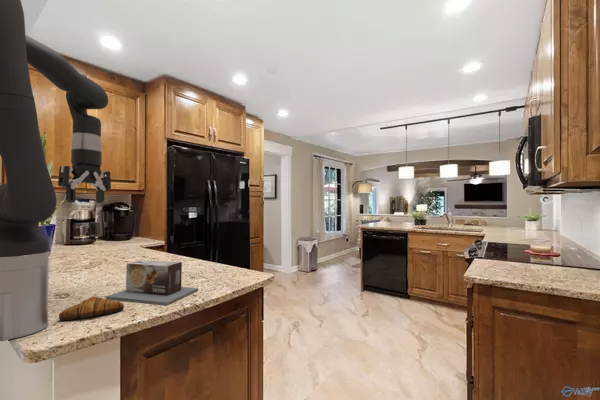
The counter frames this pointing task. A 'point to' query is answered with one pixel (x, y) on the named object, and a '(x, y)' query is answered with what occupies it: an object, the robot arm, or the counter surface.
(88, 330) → the counter surface
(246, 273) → the counter surface
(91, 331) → the counter surface
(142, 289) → the coffee box
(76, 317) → the croissant
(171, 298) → the mat
